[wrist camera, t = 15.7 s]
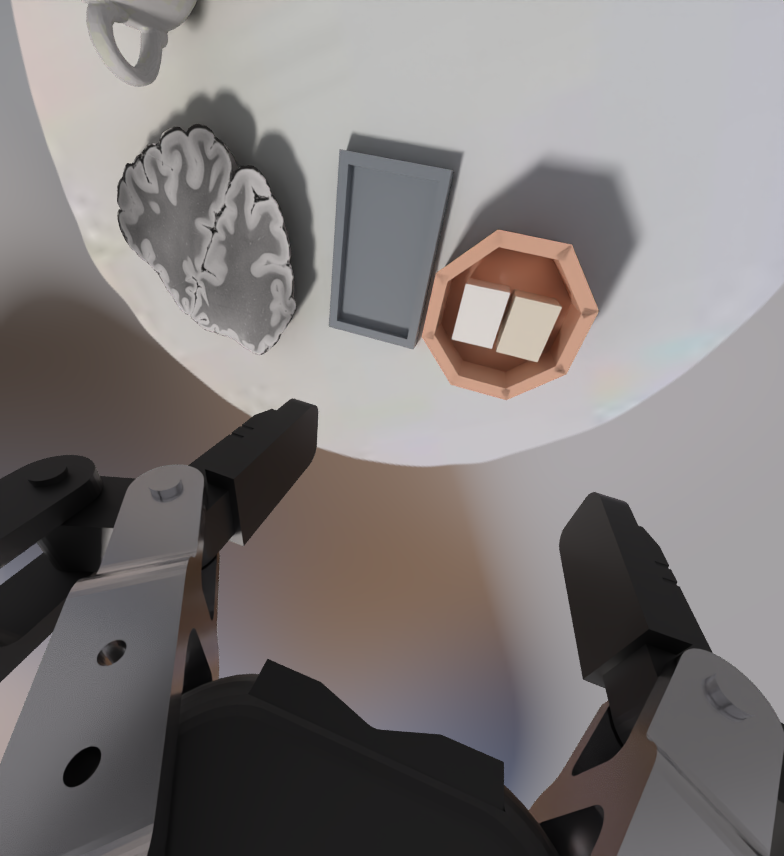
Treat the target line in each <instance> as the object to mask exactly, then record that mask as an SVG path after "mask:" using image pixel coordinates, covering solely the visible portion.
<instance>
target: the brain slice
mask: <svg viewBox="0 0 784 856" xmlns="http://www.w3.org/2000/svg"><path fill="white" fill-rule="evenodd" d="M117 187H118V194H117V203H118V205H119V207H120V209H119V210H118V212H117V216H118V223H119V227H120V230H121V232H122V234H123V236H124V238H125V240H126V242H127V243H128V245H129V246H130V248H131V249H132V250H134V251H135V252H136V253H137V254H138V256H139V257H140V258H142V259H143V260H144V261H146V262H147V263H148V264H149V265H150V266H151V267H152V268H153V269H154V270H155V271H156V272H157V273H158V275H159V276H160V278H161V280H162V282H163V283H164V285H165V287H166V288H167V290H168V291H169V293H170V294H171V295H172V297H173V299H174V301H175V302H176V304H177V305H178V306H179V308H180V309H181V310H182V311H183V312H184V313H185V314H187V315H191V318H192V319H193V320H194V321H195V322H197V323H198V324H199V325H200V326H201V327H202V328H203V329H205V330H207V331H210V332H215V333H217V334H219V335H222V336H228V337H230V338H232V339H234V340H235V341H237V342H238V343H239V344H240V345H241V346H243V347H244V348H246V349H248V350H249V351H251V352H252V353H254V354H257V355H262V354H264V353H266V352H267V351H268V350H270V349H271V348H272V347H273V346H274V345H275V344H276V343H277V342H278V340H279V339H280V336H281V334H282V333H283V331H284V330H285V328H286V327H287V325H288V324H289V322H290V320H291V319H292V315H293V313H294V312H295V310H296V302H295V300H294V273H293V270H292V266H291V264H290V263H289V262H290V258H291V255H292V253H291V247H290V242H289V237H288V233H287V230H286V227H285V223H284V220H283V215H282V212H281V209H280V207H279V205H278V203H277V201H276V199H275V198H274V196H273V195H272V194H271V190H270V187H269V185H268V182H267V180H266V179H265V177H264V176H263V175H262V173H261V172H260V171H259V170H258V169H257V168H255V167H254V166H240V167H239V168H238V167H237V165H236V162H235V159H234V157H233V155H232V154H231V152H230V151H229V149H228V148H227V146H226V144H224V143H223V142H222V141H220V140H219V139H218V138H216V137H215V136H214V134H213V132H212V130H210V129H209V128H208V127H207V126H204V125H200V124H195V125H192V126H191V127H190V128H189V129H188V131H187V133H186V132H185V131H184V130H182V129H181V128H180V127H172V128H170V129H168V130H166V131H165V132H163V133H162V135H161V138H160V141H159V144H154V143H152V144H149V145H147V146H146V148H145V149H144V150H143V152H142V153H141V154H139V155H138V156H137V157H136V158H135V160H134V161H133V163H132V164H129V163H127V164H126V166H125V168H124V172H123V177H122V178H121V179H120V180H119V183H118V186H117Z"/></svg>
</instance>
